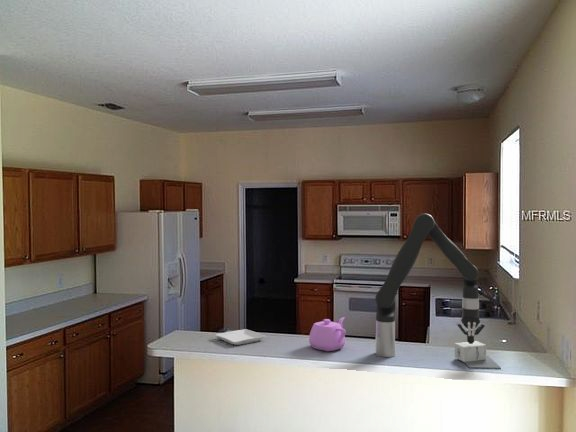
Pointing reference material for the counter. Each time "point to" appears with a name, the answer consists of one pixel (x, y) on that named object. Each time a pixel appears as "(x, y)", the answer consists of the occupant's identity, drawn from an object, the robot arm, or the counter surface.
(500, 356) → the counter surface
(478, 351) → the supplement box
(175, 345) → the counter surface
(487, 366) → the charcoal mat
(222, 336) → the salad plate
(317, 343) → the teapot
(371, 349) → the counter surface
